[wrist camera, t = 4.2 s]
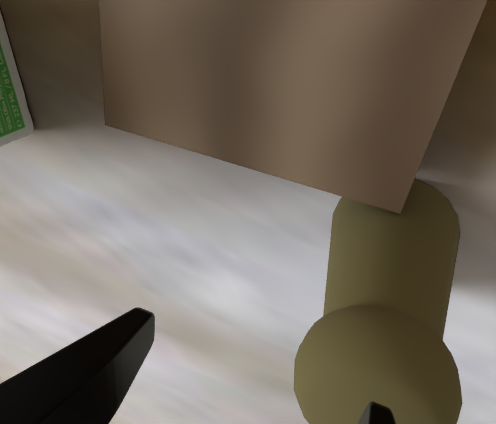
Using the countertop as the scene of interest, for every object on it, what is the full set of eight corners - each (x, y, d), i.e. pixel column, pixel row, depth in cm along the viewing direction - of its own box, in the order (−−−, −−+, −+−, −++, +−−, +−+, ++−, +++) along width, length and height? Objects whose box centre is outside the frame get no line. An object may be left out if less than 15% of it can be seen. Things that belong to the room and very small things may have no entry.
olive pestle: (488, 246, 20) (531, 479, 12) (381, 295, 24) (352, 503, 15) (406, 151, 19) (387, 326, 11) (307, 217, 23) (231, 390, 14)
